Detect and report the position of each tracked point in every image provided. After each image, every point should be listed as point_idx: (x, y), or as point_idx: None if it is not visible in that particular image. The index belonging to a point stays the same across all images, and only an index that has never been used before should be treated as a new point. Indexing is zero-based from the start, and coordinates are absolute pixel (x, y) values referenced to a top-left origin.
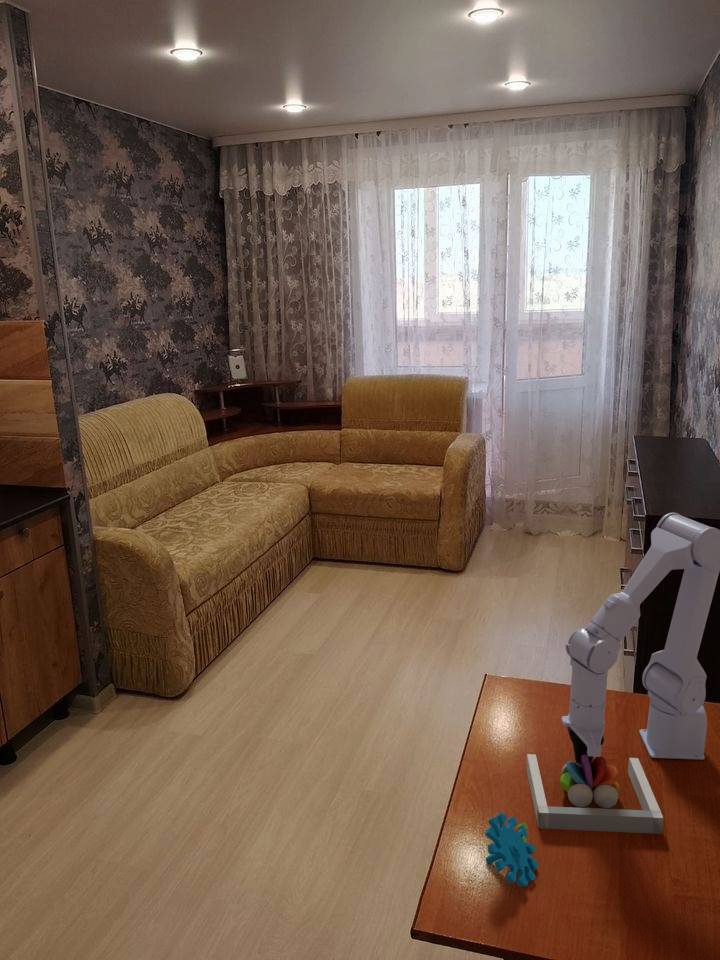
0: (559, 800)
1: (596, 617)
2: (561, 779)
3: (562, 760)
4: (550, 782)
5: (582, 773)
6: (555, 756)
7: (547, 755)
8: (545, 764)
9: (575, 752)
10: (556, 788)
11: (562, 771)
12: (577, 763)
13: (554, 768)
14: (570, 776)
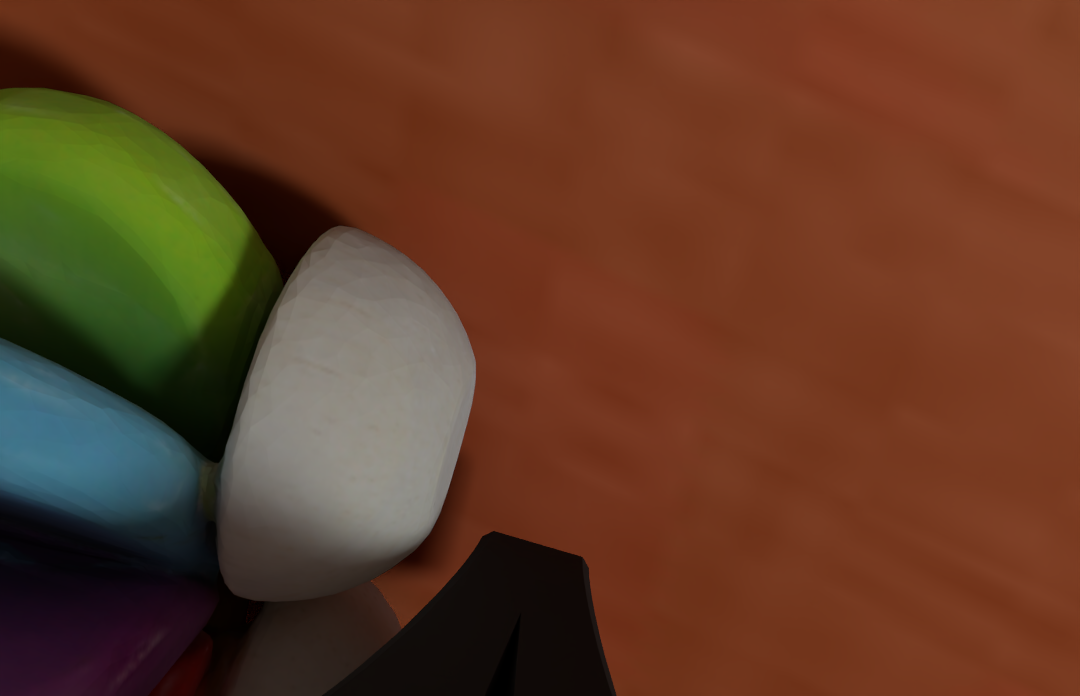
0: (63, 17)
1: None
2: (24, 126)
3: (867, 431)
4: (438, 47)
5: (14, 518)
6: (990, 379)
7: (1061, 274)
8: (860, 148)
9: (334, 688)
10: (303, 82)
11: (303, 256)
12: (266, 566)
13: (729, 244)
14: (95, 315)
